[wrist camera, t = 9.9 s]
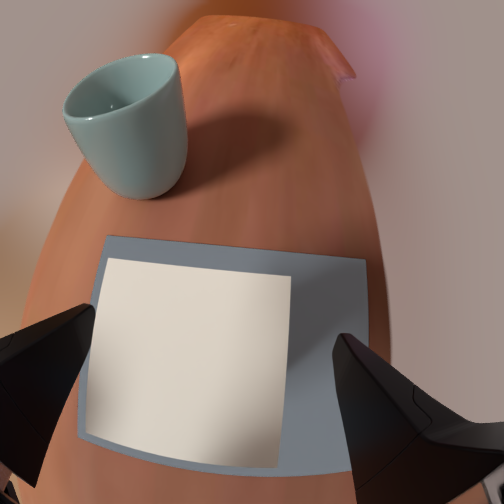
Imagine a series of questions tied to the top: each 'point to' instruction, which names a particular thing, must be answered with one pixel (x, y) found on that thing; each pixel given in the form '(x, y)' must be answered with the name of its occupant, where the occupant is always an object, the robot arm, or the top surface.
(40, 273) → the top surface
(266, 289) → the block
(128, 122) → the cup
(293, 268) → the slate mat
